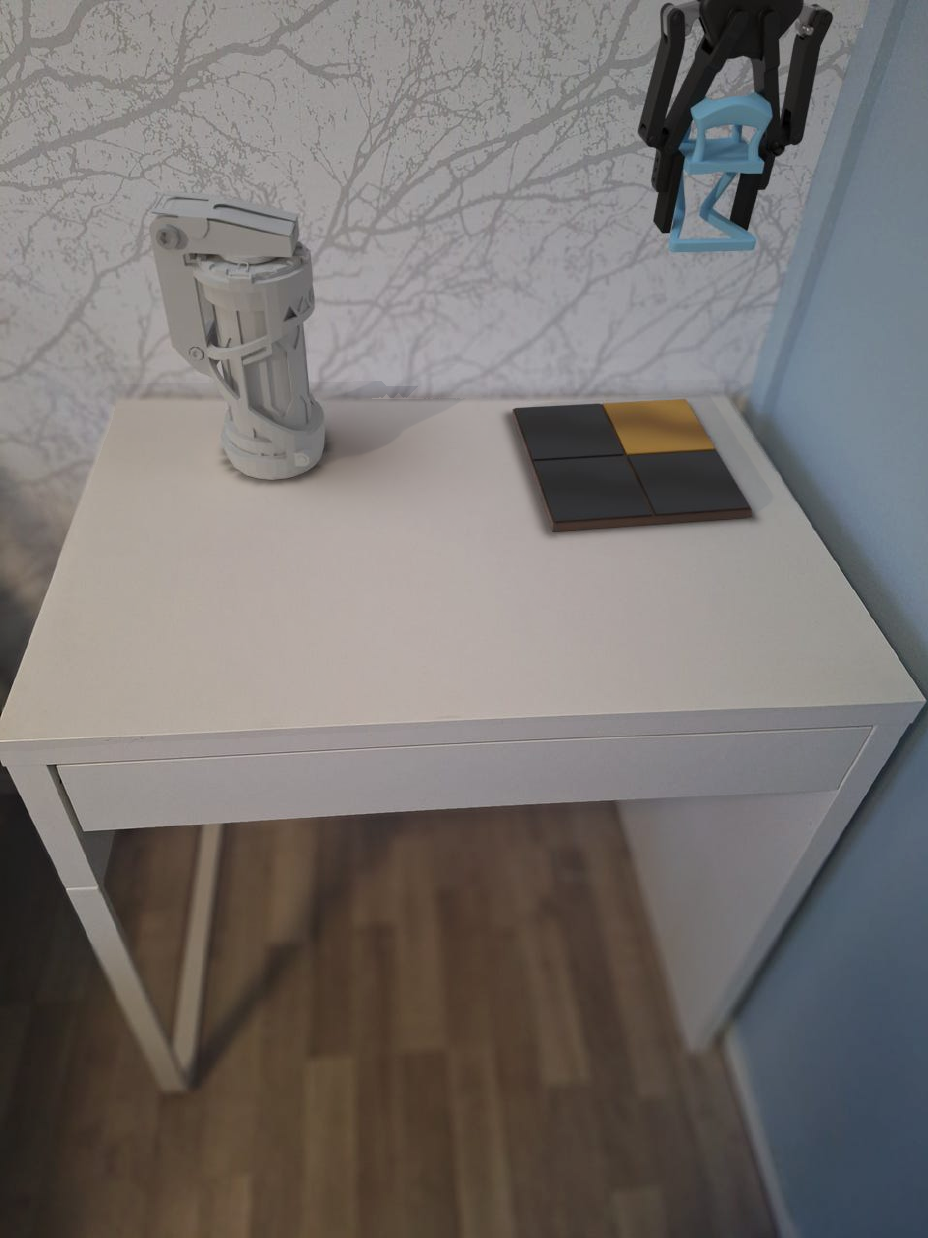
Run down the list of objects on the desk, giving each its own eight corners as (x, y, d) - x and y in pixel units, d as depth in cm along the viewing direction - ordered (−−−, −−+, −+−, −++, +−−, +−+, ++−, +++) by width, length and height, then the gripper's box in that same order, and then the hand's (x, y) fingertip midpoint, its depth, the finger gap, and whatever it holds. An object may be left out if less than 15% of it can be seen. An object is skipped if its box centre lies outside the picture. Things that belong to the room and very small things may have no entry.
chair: (728, 213, 88) (758, 71, 79) (755, 250, 82) (791, 101, 73) (649, 215, 87) (671, 72, 79) (670, 252, 81) (696, 103, 73)
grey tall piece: (332, 425, 99) (314, 184, 81) (320, 484, 91) (297, 232, 74) (211, 420, 99) (166, 177, 81) (189, 479, 91) (135, 225, 74)
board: (749, 517, 90) (753, 508, 90) (552, 531, 88) (553, 522, 87) (684, 406, 104) (686, 397, 103) (511, 416, 102) (512, 406, 101)
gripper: (869, -94, 72) (784, 207, 88) (627, -100, 69) (586, 212, 85) (917, -77, 67) (817, 240, 83) (657, -83, 64) (607, 246, 80)
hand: (700, 225), depth 84 cm, fingers closed on chair, 7 cm apart
